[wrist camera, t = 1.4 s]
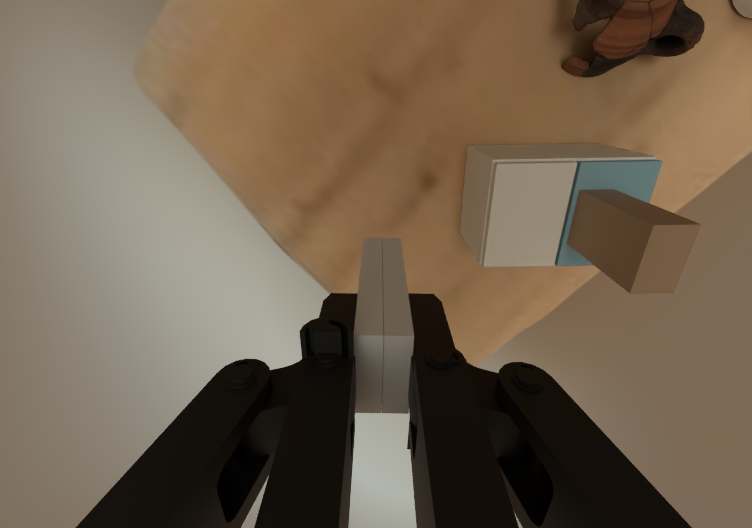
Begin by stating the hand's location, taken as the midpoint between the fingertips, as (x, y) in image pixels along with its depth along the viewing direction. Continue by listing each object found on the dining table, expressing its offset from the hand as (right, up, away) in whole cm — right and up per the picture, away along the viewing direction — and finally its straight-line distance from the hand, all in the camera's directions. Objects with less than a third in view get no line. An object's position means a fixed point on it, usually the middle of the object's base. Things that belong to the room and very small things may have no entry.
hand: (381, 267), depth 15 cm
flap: (+20, +5, +17) cm, 27 cm away
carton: (+17, +9, +25) cm, 32 cm away
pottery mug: (+22, +23, +19) cm, 37 cm away
